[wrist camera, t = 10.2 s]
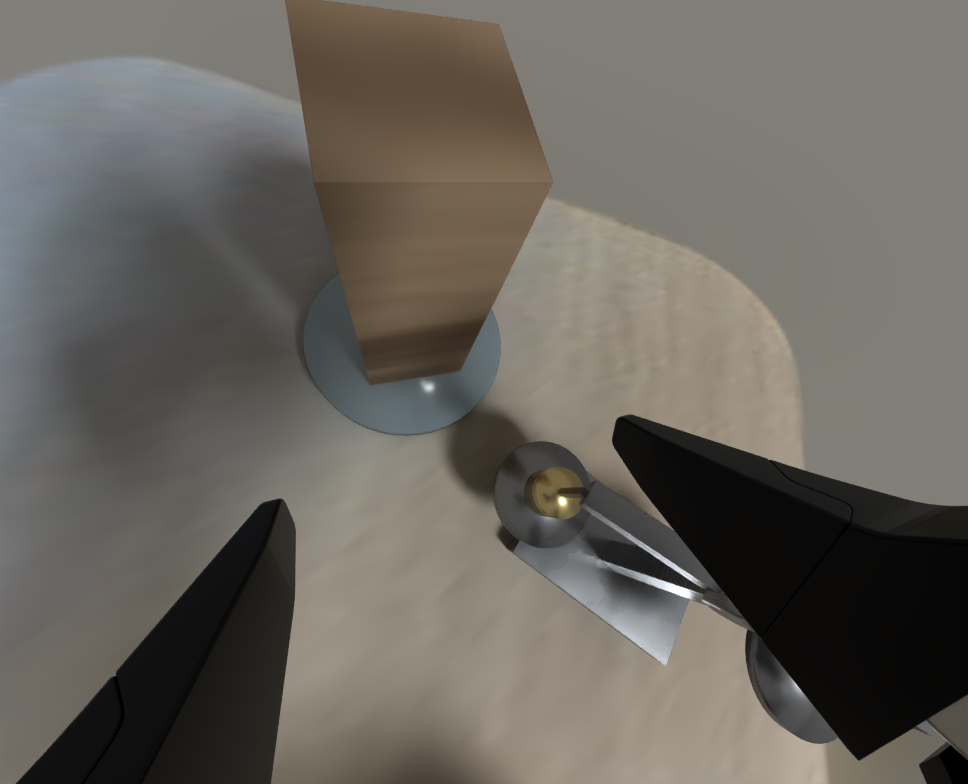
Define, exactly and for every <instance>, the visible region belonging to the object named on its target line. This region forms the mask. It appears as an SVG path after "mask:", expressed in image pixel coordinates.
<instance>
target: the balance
mask: <svg viewBox="0 0 968 784" xmlns="http://www.w3.org/2000/svg"><path fill="white" fill-rule="evenodd" d="M493 497H494V504H495V508H496V511H497V514H498V517H499V518H500V520H501V522H502V524H503V525H504V527H505V528H506V529H507V530H508V531H509V533H510V534H512V535H513V536H514V539H513V541H512V542H511V544H510V546H509V548H508V550H509V551H510V552H512V553H513V554H514V555H516V556H517V557H519V558H520V559H521V560H523V561H524V562H525V563H527V564H528V565H529V566H531V567H532V568H533V569H535V570H536V571H537V572H539V573H540V574H541V575H543V576H544V577H545V578H547V579H548V580H549V581H551V582H552V583H553V584H555V585H556V586H557V587H559V588H560V589H561V590H563V591H564V592H566V593H567V594H568V595H570V596H571V597H572V598H574V599H575V600H576V601H578V602H579V603H580V604H582V605H583V606H584V607H586V608H587V609H588V610H590V611H591V612H592V613H594V614H595V615H596V616H598V617H599V618H600V619H602V620H603V621H604V622H606V623H607V624H608V625H610V626H611V627H613V628H614V629H615V630H617V631H618V632H619V633H621V634H622V635H623V636H625V637H626V638H627V639H629V640H630V641H631V642H633V643H634V644H635V645H637V646H638V647H639V648H641V649H642V650H643V651H645V652H646V653H647V654H649V655H650V656H651V657H653V658H654V659H656V660H657V661H659V662H661V663H662V664H664V665H665V666H666V663H667V660H668V657H669V655H670V652H671V649H672V646H673V643H674V641H675V638H676V635H677V632H678V630H679V627H680V624H681V621H682V618H683V616H684V613H685V610H686V607H687V605H688V602H689V599H690V600H693V601H696V602H699V603H701V604H704V605H707V606H708V607H710V608H711V609H712V610H714V611H715V612H717V613H718V614H720V615H721V616H723V617H725V618H726V619H728V620H730V621H732V622H734V623H736V624H737V625H739V626H742V627H744V628H746V629H747V634H746V644H745V653H746V663H747V669H748V674H749V677H750V681H751V684H752V687H753V689H754V692H755V694H756V696H757V698H758V700H759V701H760V703H761V705H762V707H763V708H764V709H765V711H766V712H767V713H768V715H769V716H770V717H771V718H772V719H773V720H774V721H775V722H776V723H777V724H779V725H780V726H781V727H783V728H784V729H786V730H787V731H789V732H791V733H792V734H794V735H796V736H797V737H799V738H800V739H803V740H805V741H807V742H811V743H817V744H822V743H828V742H831V741H833V740H835V739H836V738H838V736H837V735H836V734H835V733H834V731H833V730H832V729H831V728H830V726H829V725H828V724H827V723H826V721H825V720H824V719H823V718H822V716H821V715H820V714H819V712H818V711H817V710H816V709H815V707H814V706H813V705H812V704H811V702H810V701H809V700H808V699H807V697H806V696H805V695H804V694H803V692H802V691H801V690H800V689H799V687H798V686H797V685H796V683H795V682H794V681H793V680H792V678H791V677H790V676H789V675H788V673H787V672H786V671H785V670H784V668H783V667H782V666H781V665H780V663H779V662H778V661H777V660H776V658H775V657H774V656H773V655H772V653H771V652H770V651H769V649H768V648H767V647H766V646H765V644H764V643H763V642H762V641H761V638H760V637H758V635H757V634H756V633H755V631H754V630H753V629H752V628H751V626H750V625H749V624H748V623H747V621H746V620H745V619H744V618H743V616H742V615H741V614H740V613H739V611H738V610H737V609H736V608H735V606H734V605H733V604H732V603H731V601H730V600H729V599H728V598H727V596H726V595H725V594H724V592H723V591H722V590H721V589H720V587H719V586H718V585H717V584H716V582H715V581H714V580H713V579H712V577H711V576H710V575H709V574H708V572H707V571H706V570H705V569H704V567H703V566H702V565H701V564H700V562H699V561H698V560H697V559H696V557H695V556H694V555H693V553H692V552H691V551H690V550H689V548H688V547H687V546H686V545H685V543H684V542H683V541H682V540H681V538H680V537H679V536H678V535H677V533H676V532H675V531H673V530H672V529H670V528H669V527H667V526H666V525H664V524H663V523H661V522H660V521H658V520H656V519H655V518H653V517H652V516H650V515H649V514H647V513H646V512H644V511H643V510H641V509H640V508H638V507H636V506H635V505H633V504H632V503H630V502H629V501H627V500H626V499H624V498H623V497H621V496H620V495H618V494H617V493H615V492H613V491H612V490H610V489H609V488H608V487H606V486H605V485H604V484H602V483H601V482H600V481H598V480H597V479H596V478H594V477H593V476H592V475H590V474H589V473H588V472H586V470H585V468H584V467H583V465H582V464H581V462H580V461H579V460H578V459H577V457H576V456H575V455H574V454H572V453H571V452H570V451H569V450H567V449H566V448H564V447H562V446H560V445H558V444H555V443H551V442H543V441H540V442H532V443H528V444H526V445H523V446H521V447H519V448H517V449H515V450H514V451H512V452H511V453H510V454H509V455H508V456H507V457H506V458H505V459H504V461H503V462H502V463H501V465H500V467H499V469H498V471H497V474H496V477H495V480H494V487H493ZM913 729H916V730H918V731H920V732H923V733H925V734H927V735H930V736H932V732H933V728H932V727H931V726H930V725H929V724H927V723H926V722H925V721H924V722H923V723H921V724H919V725H918V726H916V727H914V728H913Z"/></svg>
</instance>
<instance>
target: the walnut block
mask: <svg viewBox="0 0 968 784" xmlns="http://www.w3.org/2000/svg"><path fill="white" fill-rule="evenodd" d="M285 2H286V9H287V15H288V22H289V28H290V34H291V41H292V47H293V53H294V60H295V66H296V72H297V79H298V84H299V91H300V97H301V104H302V110H303V116H304V123H305V129H306V135H307V142H308V148H309V154H310V161H311V167H312V173H313V180H314V184H315V188H316V192H317V195H318V199H319V202H320V206H321V210H322V213H323V217H324V220H325V224H326V228H327V231H328V235H329V238H330V242H331V246H332V249H333V253H334V256H335V260H336V264H337V267H338V271H339V274H340V278H341V282H342V285H343V289H344V292H345V296H346V300H347V303H348V307H349V310H350V314H351V318H352V321H353V325H354V328H355V332H356V336H357V339H358V343H359V347H360V350H361V354H362V357H363V361H364V365H365V368H366V372H367V375H368V379H369V383H370V386H372V385H378V384H384V383H390V382H397V381H403V380H409V379H415V378H421V377H428V376H434V375H440V374H446V373H453V372H459V371H461V369H462V366H463V364H464V362H465V360H466V358H467V356H468V354H469V352H470V350H471V348H472V346H473V344H474V342H475V340H476V338H477V336H478V334H479V332H480V330H481V328H482V326H483V324H484V322H485V320H486V318H487V316H488V314H489V312H490V310H491V308H492V306H493V304H494V302H495V300H496V298H497V296H498V293H499V291H500V289H501V287H502V285H503V283H504V281H505V279H506V277H507V275H508V273H509V271H510V269H511V267H512V265H513V263H514V261H515V259H516V257H517V255H518V253H519V251H520V249H521V247H522V245H523V243H524V241H525V239H526V237H527V235H528V233H529V231H530V229H531V227H532V225H533V222H534V220H535V218H536V216H537V214H538V212H539V210H540V208H541V206H542V204H543V202H544V200H545V198H546V196H547V194H548V192H549V190H550V188H551V186H552V184H553V179H552V176H551V173H550V170H549V168H548V165H547V162H546V159H545V156H544V153H543V150H542V147H541V145H540V142H539V139H538V136H537V133H536V130H535V127H534V124H533V121H532V118H531V116H530V113H529V110H528V107H527V104H526V101H525V98H524V95H523V92H522V89H521V86H520V83H519V81H518V78H517V75H516V72H515V69H514V66H513V63H512V60H511V58H510V55H509V52H508V49H507V46H506V43H505V40H504V37H503V34H502V31H501V29H500V25H499V24H495V23H488V22H480V21H472V20H465V19H458V18H450V17H443V16H435V15H428V14H420V13H413V12H406V11H399V10H391V9H384V8H376V7H369V6H361V5H354V4H346V3H339V2H331V1H324V0H285Z"/></svg>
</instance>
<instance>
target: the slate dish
mask: <svg viewBox="0 0 968 784" xmlns="http://www.w3.org/2000/svg"><path fill="white" fill-rule="evenodd" d="M303 346H304V354H305V359H306V362H307V366H308V369H309V371H310V373H311V376H312V378H313V380H314V382H315V383H316V385H317V386H318V388H319V389H320V391H321V392H322V394H323V395H324V396H325V397H326V399H327V400H328V401H329V402H330V403H331V404H332V405H333V406H334V407H335V408H336V409H337V410H338V411H339V412H340V413H342V414H343V415H344V416H346V417H347V418H349V419H350V420H352V421H353V422H355V423H357V424H359V425H361V426H363V427H365V428H368V429H371V430H374V431H377V432H380V433H385V434H391V435H404V436H409V435H421V434H426V433H431V432H434V431H437V430H440V429H443V428H445V427H447V426H449V425H451V424H453V423H455V422H457V421H458V420H460V419H461V418H463V417H464V416H466V415H467V414H468V413H469V412H470V411H471V410H472V409H474V407H475V406H476V405H477V404H478V403H479V402H480V400H481V399H482V398H483V397H484V396H485V394H486V393H487V391H488V390H489V388H490V387H491V385H492V383H493V380H494V378H495V376H496V373H497V370H498V366H499V362H500V355H501V340H500V333H499V328H498V325H497V321H496V319H495V316H494V314H493V311H492V309H491V310H490V312H489V314H488V316H487V318H486V320H485V322H484V324H483V326H482V328H481V330H480V332H479V334H478V336H477V338H476V340H475V342H474V344H473V346H472V348H471V350H470V352H469V354H468V356H467V358H466V360H465V362H464V364H463V366H462V369H461V371H459V372H453V373H446V374H440V375H434V376H428V377H421V378H415V379H409V380H403V381H397V382H390V383H384V384H378V385H372V386H370V383H369V379H368V375H367V372H366V368H365V365H364V361H363V357H362V354H361V350H360V347H359V343H358V339H357V336H356V332H355V328H354V325H353V321H352V318H351V314H350V310H349V307H348V303H347V300H346V296H345V292H344V289H343V285H342V282H341V278H340V274H339V273H338V274H337V275H336V276H334V277H333V278H332V279H331V280H330V281H329V282H328V283H327V284H326V285H325V286H324V287H323V288H322V289H321V291H320V292H319V293H318V295H317V296H316V297H315V299H314V301H313V303H312V305H311V307H310V309H309V312H308V315H307V317H306V321H305V326H304V333H303Z"/></svg>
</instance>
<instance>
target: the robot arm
mask: <svg viewBox="0 0 968 784" xmlns="http://www.w3.org/2000/svg"><path fill="white" fill-rule="evenodd" d="M612 443H613V446H614V448H615V449H616V451H617V453H618V454H619V456H620V457H621V459H622V460H623V462H624V463H625V465H626V466H627V468H628V469H629V471H630V473H631V474H632V476H633V477H634V479H635V480H636V482H637V483H638V485H639V486H640V488H641V489H642V490H643V492H644V493H645V494H646V496H647V497H648V498H649V499H650V501H651V502H652V503H653V504H654V506H655V507H656V508H657V509H658V511H659V512H660V513H661V514H662V516H663V517H664V518H665V520H666V521H667V522H668V523H669V525H670V526H671V527H672V528H673V530H674V531H675V532H676V533H677V535H678V536H679V537H680V538H681V540H682V541H683V542H684V543H685V545H686V546H687V547H688V548H689V550H690V551H691V552H692V553H693V555H694V556H695V557H696V559H697V560H698V561H699V562H700V564H701V565H702V566H703V567H704V569H705V570H706V571H707V572H708V574H709V575H710V576H711V577H712V579H713V580H714V581H715V582H716V584H717V585H718V586H719V587H720V589H721V590H722V591H723V592H724V594H725V595H726V596H727V598H728V599H729V600H730V601H731V603H732V604H733V605H734V606H735V608H736V609H737V610H738V611H739V613H740V614H741V615H742V616H743V618H744V619H745V620H746V621H747V623H748V624H749V625H750V626H751V628H752V629H753V630H754V631H755V633H756V634H757V635H758V637H760V638H761V641H762V642H763V643H764V644H765V646H766V647H767V648H768V649H769V651H770V652H771V653H772V655H773V656H774V657H775V658H776V660H777V661H778V662H779V663H780V665H781V666H782V667H783V668H784V670H785V671H786V672H787V673H788V675H789V676H790V677H791V678H792V680H793V681H794V682H795V683H796V685H797V686H798V687H799V689H800V690H801V691H802V692H803V694H804V695H805V696H806V697H807V699H808V700H809V701H810V702H811V704H812V705H813V706H814V707H815V709H816V710H817V711H818V712H819V714H820V715H821V716H822V718H823V719H824V720H825V721H826V723H827V724H828V725H829V726H830V728H831V729H832V730H833V731H834V733H835V734H836V735H837V736H838V738H839V739H840V740H841V741H842V743H843V744H844V745H845V746H846V748H847V749H848V750H849V751H850V752H851V753H852V754H853V755H854V756H855V758H857V760H859V761H860V760H862V759H863V758H865V757H866V756H868V755H870V754H871V753H873V752H875V751H876V750H878V749H880V748H881V747H883V746H885V745H886V744H888V743H890V742H891V741H893V740H895V739H896V738H898V737H899V736H901V735H902V734H904V733H906V732H908V731H909V730H911V729H913V728H914V727H916V726H918V725H919V724H921V723H923V722H924V721H925V722H926V723H927V724H929V725H930V726H931V727H932V728H933V729H934V730H935V731H936V732H937V733H939V735H941V736H942V737H943V738H944V739H945V740H946V741H947V742H946V743H945V744H944V745H943V746H941V747H940V748H939V749H937V750H936V751H935V752H934V753H933V754H931V755H930V756H929V757H928V758H926V759H925V760H924V761H923V762H921V763H920V764H919V766H920V769H921V771H922V773H923V775H924V778H925V780H926V783H927V784H968V506H941V505H932V504H925V503H920V502H915V501H911V500H907V499H902V498H899V497H896V496H892V495H888V494H885V493H881V492H878V491H874V490H871V489H867V488H863V487H860V486H856V485H853V484H849V483H846V482H842V481H838V480H835V479H831V478H828V477H824V476H821V475H817V474H814V473H811V472H808V471H804V470H801V469H798V468H795V467H792V466H788V465H785V464H782V463H779V462H776V461H773V460H768V459H767V458H764V457H761V456H758V455H754V454H751V453H748V452H745V451H742V450H739V449H736V448H733V447H730V446H727V445H724V444H721V443H718V442H714V441H711V440H708V439H705V438H702V437H699V436H696V435H693V434H690V433H687V432H684V431H681V430H678V429H674V428H671V427H668V426H665V425H662V424H659V423H656V422H653V421H650V420H647V419H644V418H641V417H638V416H635V415H625V416H621V417H619V418H617V420H616V423H615V428H614V432H613V437H612ZM295 553H296V530H295V524H294V521H293V519H292V516H291V514H290V512H289V509H288V507H287V505H286V503H285V501H284V500H283V499H275V500H271V501H267V502H264V503H262V504H260V505H259V506H258V508H257V509H256V510H255V511H254V512H253V513H252V515H251V516H250V517H249V518H248V519H247V520H246V522H245V523H244V524H243V525H242V526H241V527H240V528H239V530H238V531H237V532H236V533H235V534H234V535H233V537H232V538H231V539H230V540H229V541H228V542H227V544H226V545H225V546H224V547H223V548H222V549H221V551H220V552H219V553H218V554H217V555H216V556H215V557H214V559H213V560H212V561H211V562H210V563H209V564H208V566H207V567H206V568H205V569H204V570H203V571H202V573H201V574H200V575H199V576H198V577H197V578H196V580H195V581H194V582H193V583H192V584H191V585H190V586H189V588H188V589H187V590H186V591H185V592H184V593H183V595H182V596H181V597H180V598H179V599H178V600H177V602H176V603H175V604H174V605H173V606H172V607H171V609H170V610H169V611H168V612H167V613H166V614H165V615H164V617H163V618H162V619H161V620H160V621H159V622H158V624H157V625H156V626H155V627H154V628H153V629H152V631H151V632H150V633H149V634H148V635H147V636H146V638H145V639H144V640H143V641H142V642H141V643H140V644H139V646H138V647H137V648H136V649H135V650H134V651H133V653H132V654H131V655H130V656H129V657H128V658H127V660H126V661H125V662H124V663H123V664H122V665H121V667H120V668H119V669H118V670H117V671H116V676H113V677H111V678H110V679H109V680H108V681H107V683H106V684H105V685H104V686H103V687H102V688H101V689H100V691H99V692H98V693H97V694H96V695H95V696H94V698H93V699H92V700H91V701H90V702H89V703H88V705H87V706H86V707H85V708H84V709H83V710H82V711H81V712H80V714H79V715H78V716H77V717H76V718H75V719H74V720H73V721H72V723H71V724H70V725H69V726H68V727H67V728H66V729H65V730H64V732H63V733H62V734H61V735H60V736H59V737H58V738H57V739H56V741H55V742H54V743H53V744H52V745H51V746H50V747H49V748H48V750H47V751H46V752H45V753H44V754H43V755H42V756H41V757H40V758H39V759H38V760H37V761H36V763H35V764H34V765H33V766H32V767H31V768H30V769H29V770H28V771H27V772H26V773H25V774H24V775H23V776H22V778H21V779H20V780H19V781H18V782H17V783H16V784H271V778H272V770H273V762H274V755H275V747H276V740H277V732H278V724H279V717H280V709H281V702H282V694H283V686H284V679H285V671H286V664H287V656H288V648H289V641H290V633H291V626H292V618H293V610H294V601H295Z"/></svg>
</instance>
